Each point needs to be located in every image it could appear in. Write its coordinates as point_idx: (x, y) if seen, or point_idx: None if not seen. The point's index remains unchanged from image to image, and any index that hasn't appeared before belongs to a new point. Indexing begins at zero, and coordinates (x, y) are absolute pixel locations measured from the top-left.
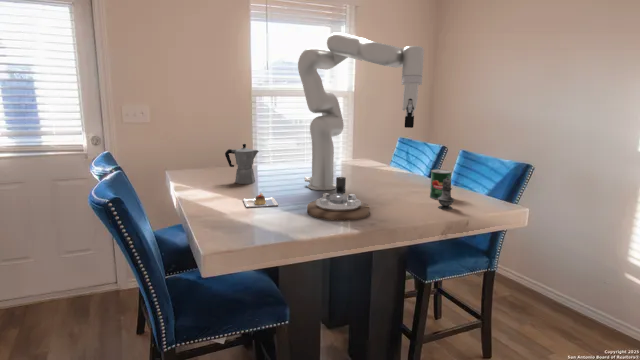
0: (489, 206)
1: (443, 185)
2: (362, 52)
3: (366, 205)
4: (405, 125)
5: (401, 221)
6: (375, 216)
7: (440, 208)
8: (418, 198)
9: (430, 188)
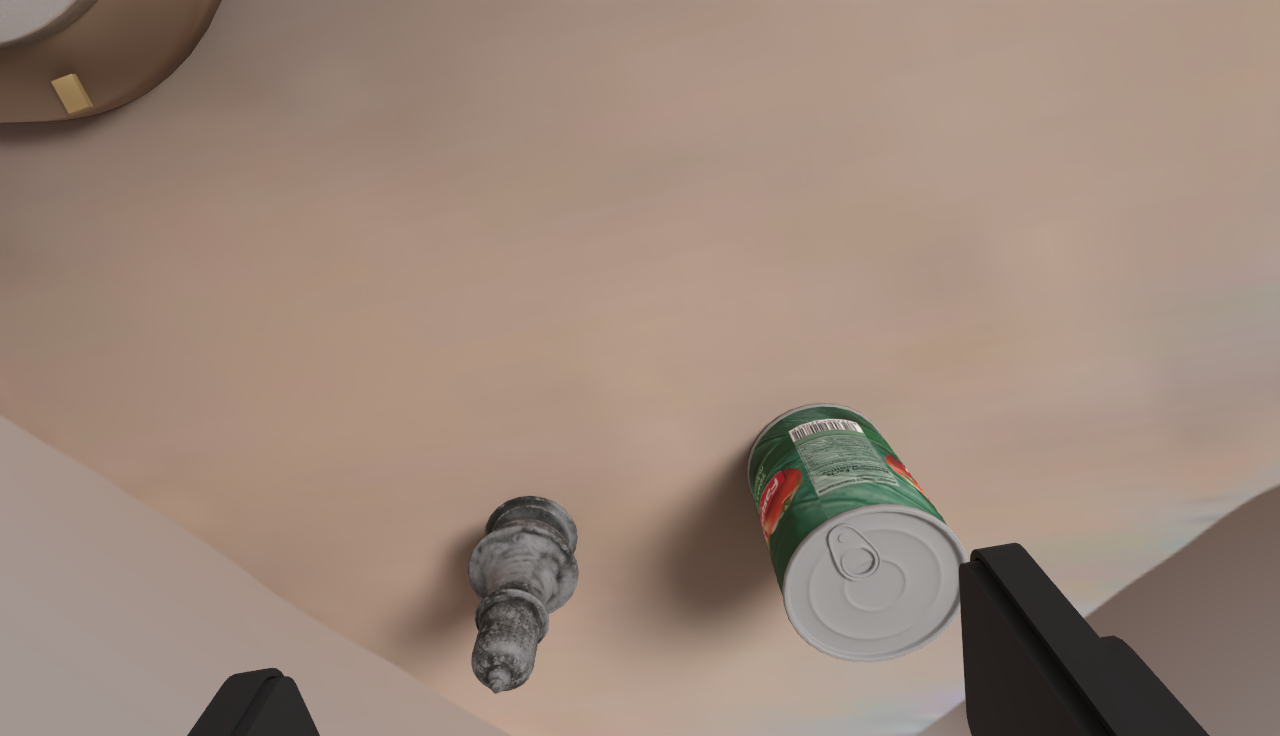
0: (695, 731)
1: (487, 618)
2: None
3: (112, 67)
4: (222, 722)
5: (68, 362)
6: (57, 179)
7: (492, 516)
8: (725, 339)
9: (815, 435)
